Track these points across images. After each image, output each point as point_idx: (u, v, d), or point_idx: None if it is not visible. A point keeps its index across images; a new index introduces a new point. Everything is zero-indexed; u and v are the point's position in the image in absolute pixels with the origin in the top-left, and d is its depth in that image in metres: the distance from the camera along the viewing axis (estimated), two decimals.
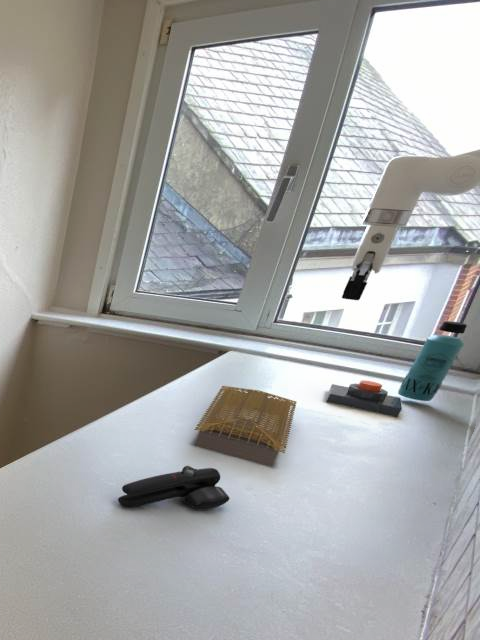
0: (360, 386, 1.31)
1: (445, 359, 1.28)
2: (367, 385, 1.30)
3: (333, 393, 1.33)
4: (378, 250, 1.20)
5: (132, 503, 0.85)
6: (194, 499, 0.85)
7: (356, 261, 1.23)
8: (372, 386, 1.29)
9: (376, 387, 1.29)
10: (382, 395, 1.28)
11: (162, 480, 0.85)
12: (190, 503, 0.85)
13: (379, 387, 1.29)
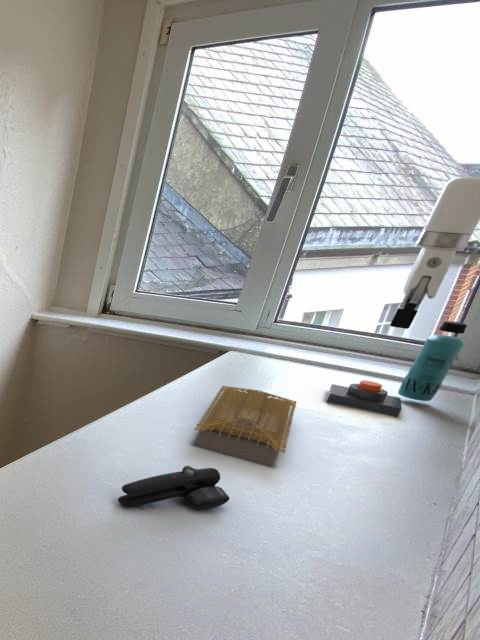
0: (360, 386, 1.31)
1: (445, 359, 1.28)
2: (367, 385, 1.30)
3: (333, 393, 1.33)
4: (434, 274, 1.15)
5: (132, 503, 0.85)
6: (194, 499, 0.85)
7: (410, 286, 1.18)
8: (372, 386, 1.29)
9: (376, 387, 1.29)
10: (382, 395, 1.28)
11: (162, 480, 0.85)
12: (190, 503, 0.85)
13: (379, 387, 1.29)
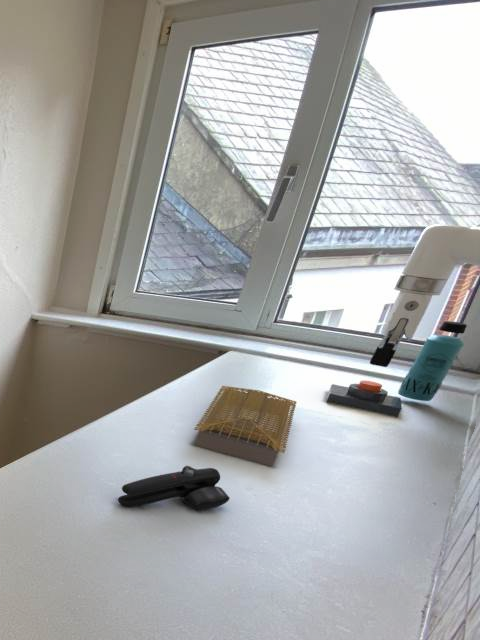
0: (360, 386, 1.31)
1: (445, 359, 1.28)
2: (367, 385, 1.30)
3: (333, 393, 1.33)
4: (412, 317, 1.19)
5: (132, 503, 0.85)
6: (194, 499, 0.85)
7: (388, 327, 1.22)
8: (372, 386, 1.29)
9: (376, 387, 1.29)
10: (382, 395, 1.28)
11: (162, 480, 0.85)
12: (190, 503, 0.85)
13: (379, 387, 1.29)
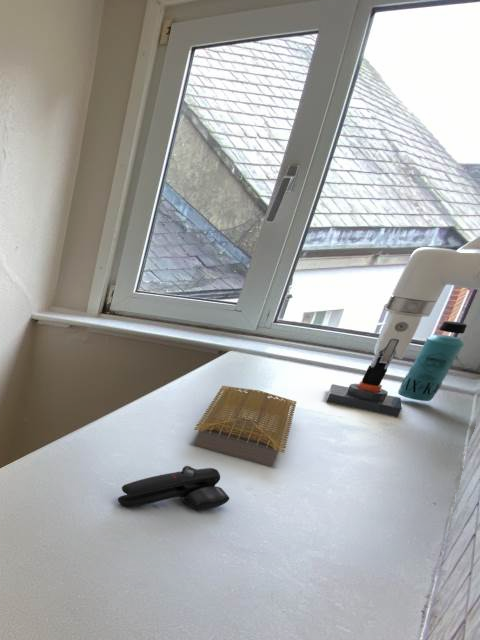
0: (360, 386, 1.31)
1: (445, 359, 1.28)
2: (367, 385, 1.30)
3: (333, 393, 1.33)
4: (402, 338, 1.21)
5: (132, 503, 0.85)
6: (194, 499, 0.85)
7: (379, 347, 1.24)
8: (372, 387, 1.29)
9: (376, 387, 1.29)
10: (382, 395, 1.28)
11: (162, 480, 0.85)
12: (190, 503, 0.85)
13: (379, 387, 1.29)
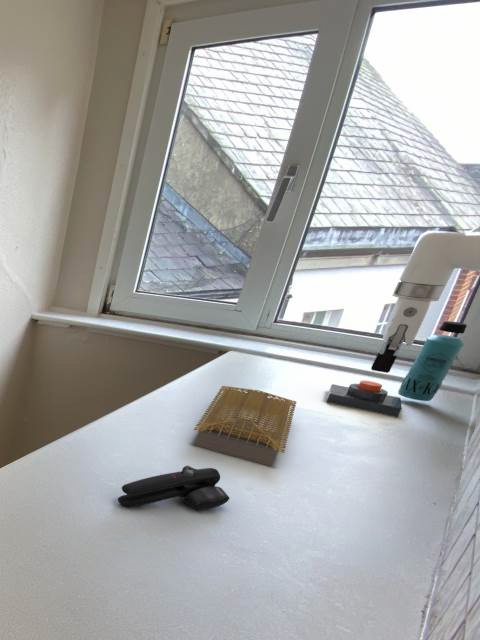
0: (360, 386, 1.31)
1: (445, 359, 1.28)
2: (367, 385, 1.30)
3: (333, 393, 1.33)
4: (411, 323, 1.20)
5: (132, 503, 0.85)
6: (194, 499, 0.85)
7: (388, 333, 1.23)
8: (372, 386, 1.29)
9: (376, 387, 1.29)
10: (382, 395, 1.28)
11: (161, 480, 0.85)
12: (190, 503, 0.85)
13: (379, 387, 1.29)
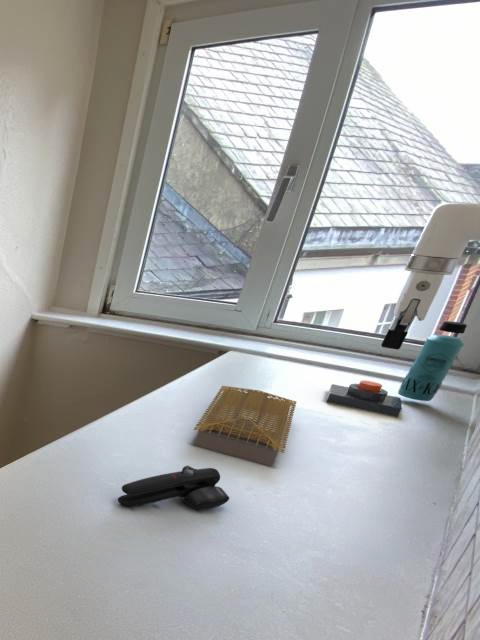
0: (360, 386, 1.31)
1: (445, 359, 1.28)
2: (367, 385, 1.30)
3: (333, 393, 1.33)
4: (423, 297, 1.17)
5: (132, 503, 0.85)
6: (194, 499, 0.85)
7: (400, 308, 1.20)
8: (372, 386, 1.29)
9: (376, 387, 1.29)
10: (382, 395, 1.28)
11: (161, 480, 0.85)
12: (190, 503, 0.85)
13: (379, 387, 1.29)
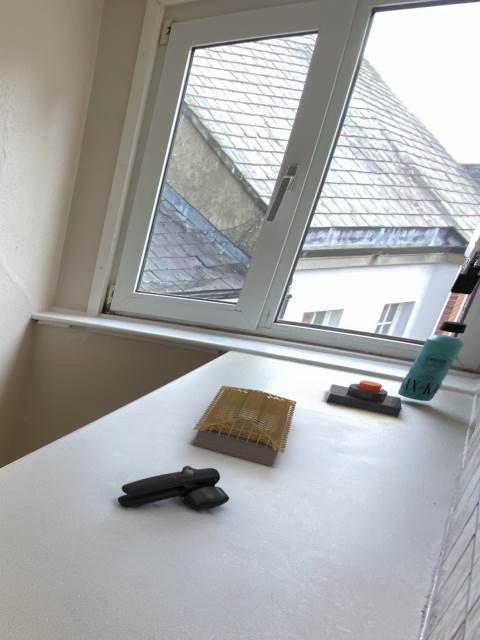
0: (360, 386, 1.31)
1: (445, 359, 1.28)
2: (367, 385, 1.30)
3: (333, 393, 1.33)
4: None
5: (132, 503, 0.85)
6: (194, 499, 0.85)
7: (475, 248, 1.13)
8: (372, 386, 1.29)
9: (376, 387, 1.29)
10: (382, 395, 1.28)
11: (161, 480, 0.85)
12: (190, 503, 0.85)
13: (379, 387, 1.29)
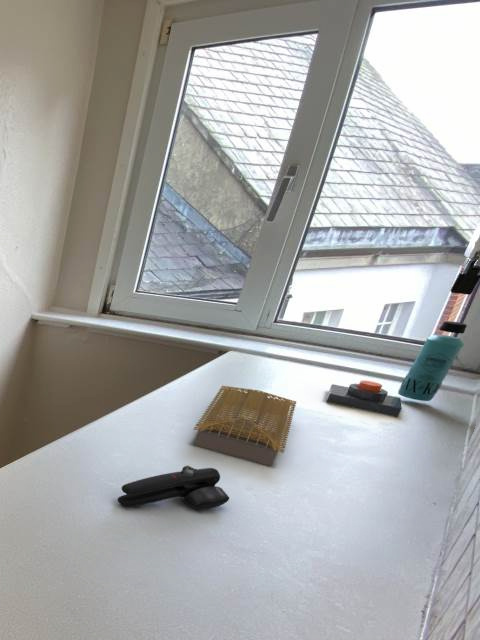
0: (360, 386, 1.31)
1: (445, 359, 1.28)
2: (367, 385, 1.30)
3: (333, 393, 1.33)
4: None
5: (132, 503, 0.85)
6: (194, 499, 0.85)
7: (475, 248, 1.13)
8: (372, 386, 1.29)
9: (376, 387, 1.29)
10: (382, 395, 1.28)
11: (161, 480, 0.85)
12: (190, 503, 0.85)
13: (379, 387, 1.29)
